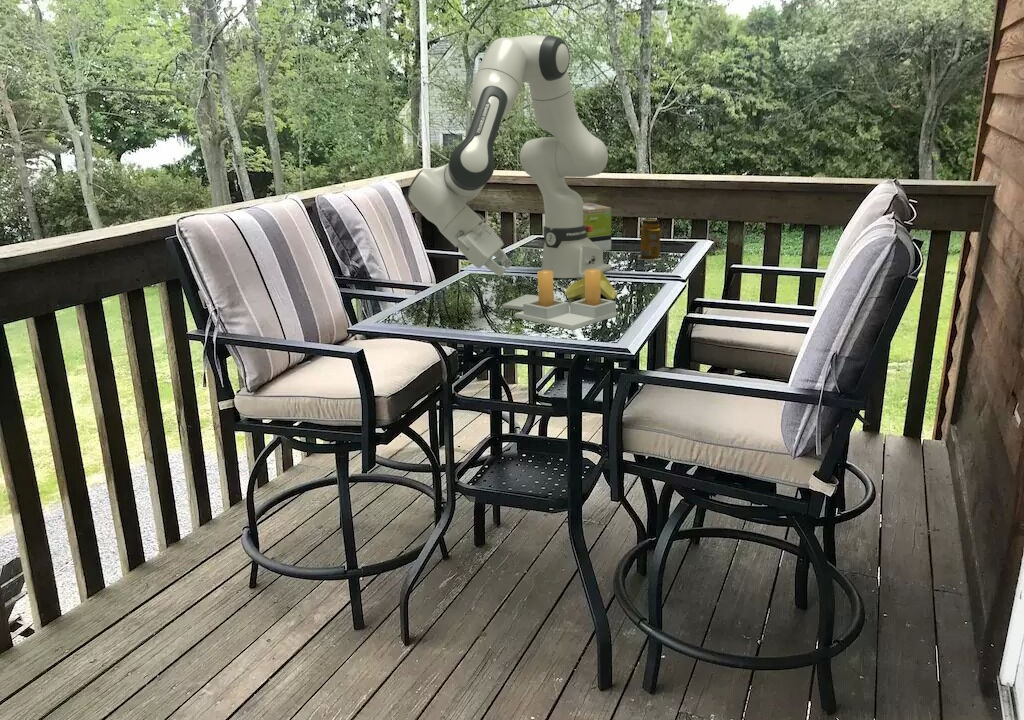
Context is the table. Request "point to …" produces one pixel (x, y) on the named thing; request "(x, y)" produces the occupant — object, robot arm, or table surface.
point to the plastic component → (578, 289)
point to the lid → (522, 301)
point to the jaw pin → (545, 288)
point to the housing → (573, 307)
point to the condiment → (650, 240)
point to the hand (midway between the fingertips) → (506, 270)
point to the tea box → (598, 224)
